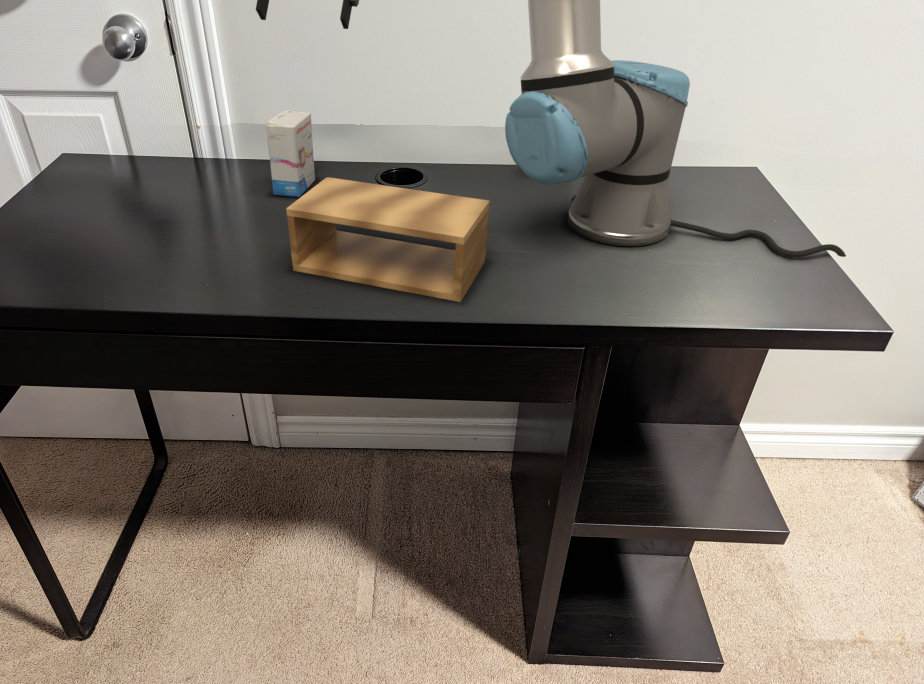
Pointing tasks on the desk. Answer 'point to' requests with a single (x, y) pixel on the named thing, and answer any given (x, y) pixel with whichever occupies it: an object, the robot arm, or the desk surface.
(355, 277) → the oak stand
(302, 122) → the ink box
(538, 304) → the desk surface
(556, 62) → the robot arm
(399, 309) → the desk surface
